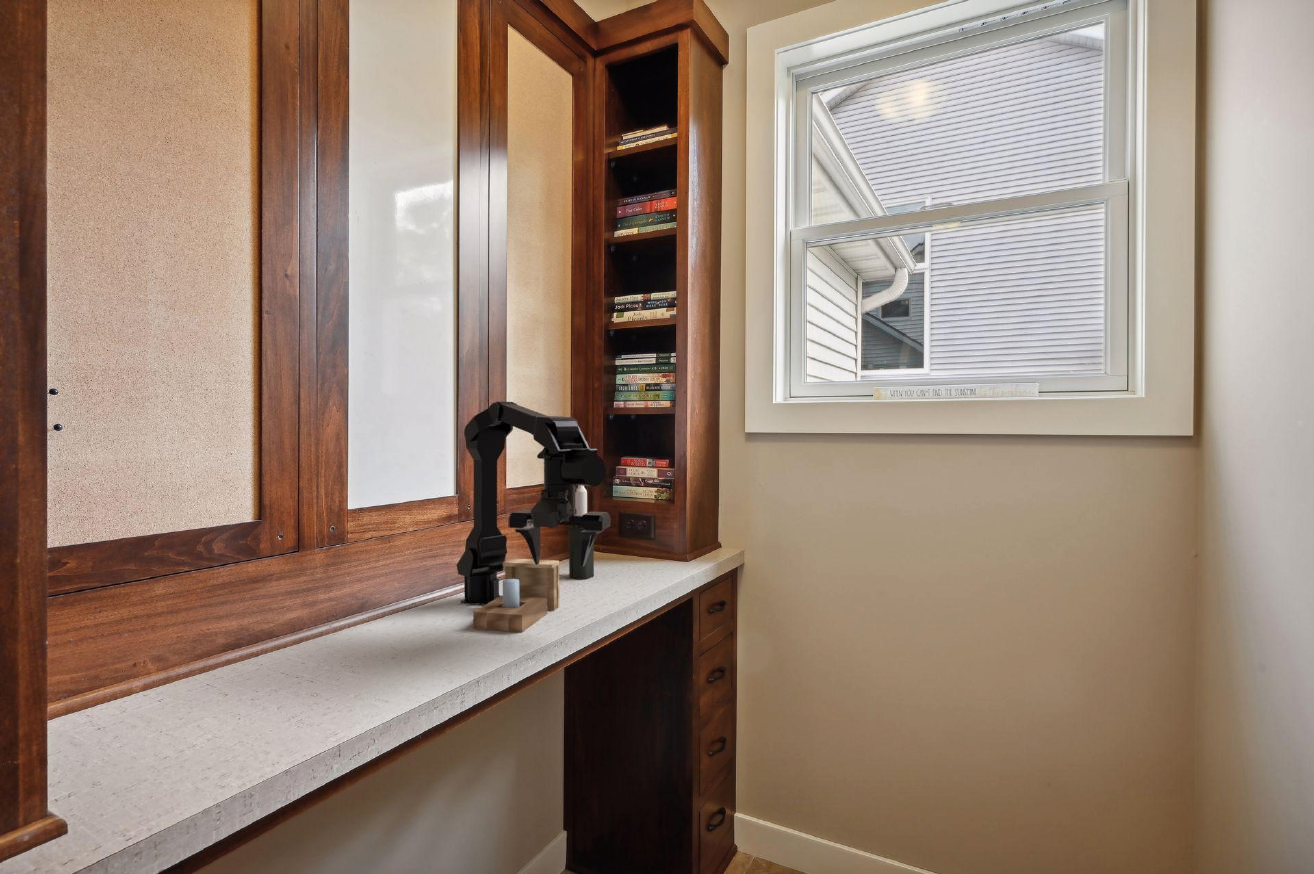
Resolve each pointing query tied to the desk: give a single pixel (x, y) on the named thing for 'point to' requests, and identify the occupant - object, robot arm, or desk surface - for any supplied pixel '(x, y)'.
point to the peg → (511, 593)
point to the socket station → (523, 597)
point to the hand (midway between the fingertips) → (559, 565)
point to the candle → (579, 541)
